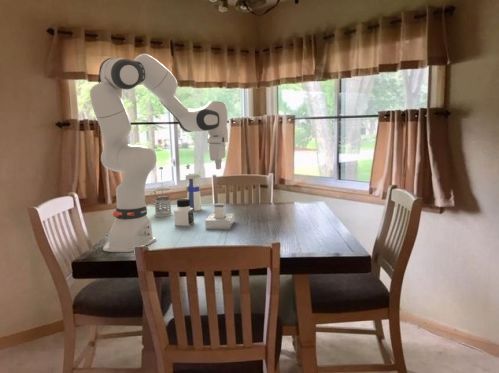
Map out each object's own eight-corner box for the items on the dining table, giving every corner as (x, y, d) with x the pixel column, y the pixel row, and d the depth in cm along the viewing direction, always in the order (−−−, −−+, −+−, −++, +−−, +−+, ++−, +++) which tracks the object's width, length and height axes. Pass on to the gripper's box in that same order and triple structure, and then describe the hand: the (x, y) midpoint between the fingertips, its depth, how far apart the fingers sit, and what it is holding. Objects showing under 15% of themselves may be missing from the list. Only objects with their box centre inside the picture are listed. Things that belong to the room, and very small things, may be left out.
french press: (170, 216, 210) (168, 167, 206) (148, 216, 210) (145, 168, 206) (174, 212, 220) (172, 165, 216) (153, 212, 220) (150, 166, 216)
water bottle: (183, 210, 224) (181, 164, 220) (190, 207, 232) (188, 163, 228) (197, 211, 221) (195, 164, 217) (203, 208, 229) (202, 163, 225)
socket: (229, 229, 184) (229, 218, 183) (205, 229, 185) (205, 218, 184) (234, 221, 197) (233, 211, 197) (211, 221, 198) (211, 211, 198)
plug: (223, 224, 189) (223, 205, 187) (215, 224, 189) (214, 205, 188) (225, 222, 193) (224, 203, 191) (216, 222, 193) (216, 203, 192)
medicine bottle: (189, 226, 191) (188, 200, 189) (174, 225, 192) (173, 200, 190) (194, 222, 197) (193, 197, 196) (180, 221, 199) (178, 197, 197)
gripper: (215, 137, 195) (215, 166, 197) (206, 139, 175) (207, 171, 177) (228, 137, 195) (228, 166, 197) (221, 139, 175) (221, 171, 177)
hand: (218, 169), depth 187 cm, fingers closed
